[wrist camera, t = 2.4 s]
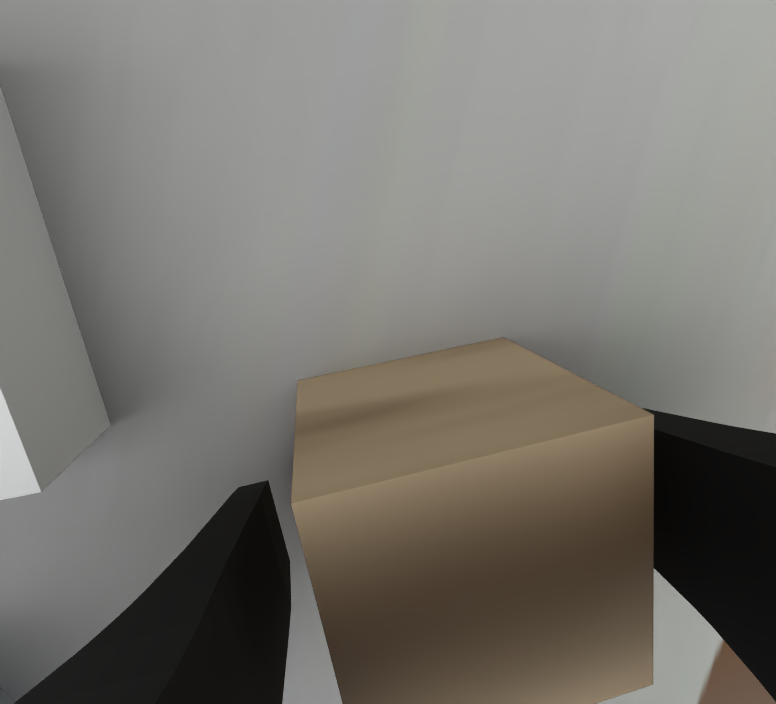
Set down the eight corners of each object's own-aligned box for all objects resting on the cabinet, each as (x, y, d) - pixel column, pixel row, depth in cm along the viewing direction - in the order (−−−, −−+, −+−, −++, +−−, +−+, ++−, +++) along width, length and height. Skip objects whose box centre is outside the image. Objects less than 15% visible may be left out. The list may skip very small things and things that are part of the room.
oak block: (518, 510, 12) (653, 684, 8) (339, 557, 12) (362, 780, 7) (502, 336, 11) (654, 415, 6) (298, 379, 10) (290, 504, 6)
